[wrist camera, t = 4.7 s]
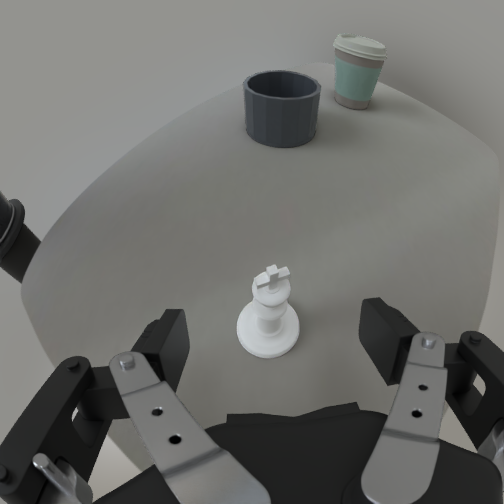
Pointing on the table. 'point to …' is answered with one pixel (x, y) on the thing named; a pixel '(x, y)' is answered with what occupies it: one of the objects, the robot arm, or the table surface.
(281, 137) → the tumbler
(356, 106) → the coffee cup
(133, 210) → the table surface
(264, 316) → the chess piece
